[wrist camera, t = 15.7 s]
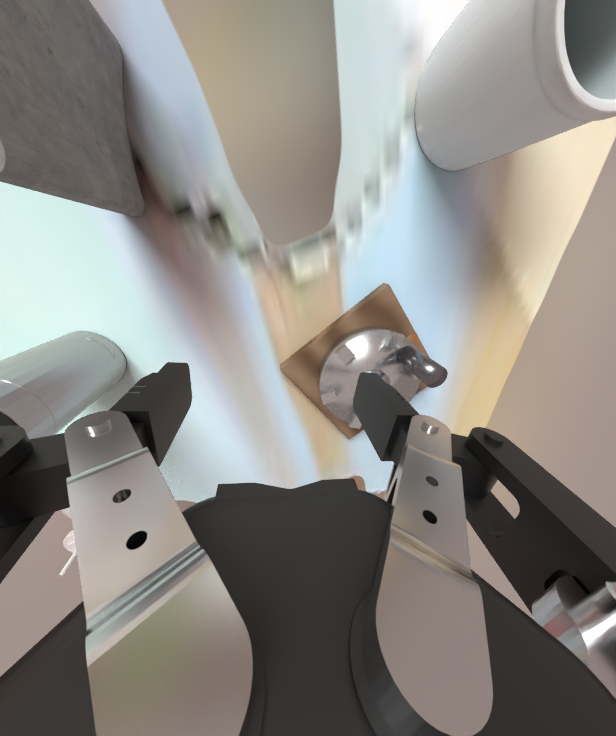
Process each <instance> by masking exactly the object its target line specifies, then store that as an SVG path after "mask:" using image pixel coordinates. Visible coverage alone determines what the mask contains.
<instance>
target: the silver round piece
mask: <svg viewBox="0 0 616 736" xmlns="http://www.w3.org/2000/svg"><path fill="white" fill-rule="evenodd" d="M361 372H371V373H377V374H378V375H379V376H380V377H381V378H382V379H383V380H384V381H385V382H386V383H388V384H389V385H391V386H392V387H394V388H395V389H396V390H397V391H398V392H399V393H400V395H402V396H403V397H404V398H405V401H407V402H408V403H409V401H410V400H411V399H412V398H413V396H414V395H415V393H416V391H417V389H418V387H419V385H420V382H421V381H422V382H423V383H424V384H425V385H427V386H428V387H431V388H434V387H437V386H439V385H441V384H442V383H443V382H444V381H445V380H446V378H447V370H446V369H445V368H444V367H442V366H441V365H439V364H438V363H436V362H435V361H433V360H432V359H430V358H429V357H427V356H425V355H424V354H422V353H421V352H419V351H418V349H417V348H416V346H415V345H414V344H413V343H412V342H411V341H410V340H409V339H407V338H406V337H405V335H403V334H402V333H398V332H396V331H394V330H392V329H389V328H385V327H378V326H372V327H364V328H360V329H357V330H354V331H352V332H350V333H348V334H346V335H345V336H343V337H341V338H340V339H339V340H338V341H336V342H335V343H334V344H333V345H332V346H331V348H330V349H329V350H328V351H327V353H326V354H325V356H324V358H323V360H322V362H321V365H320V368H319V373H318V385H319V390H320V395H321V399H322V403H323V405H324V404H325V405H326V407H327V408H328V410H329V411H330V412H331V413H332V414H333V415H334V416H336V417H337V418H339V419H341V420H342V421H345V422H348V424H349V427H350V428H357V429H360V427H361V425H362V424H361V422H360V421H359V419H358V417H357V415H356V413H355V411H354V408H353V398H354V394H355V390H356V386H357V382H358V378H359V375H360V373H361Z"/></svg>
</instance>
